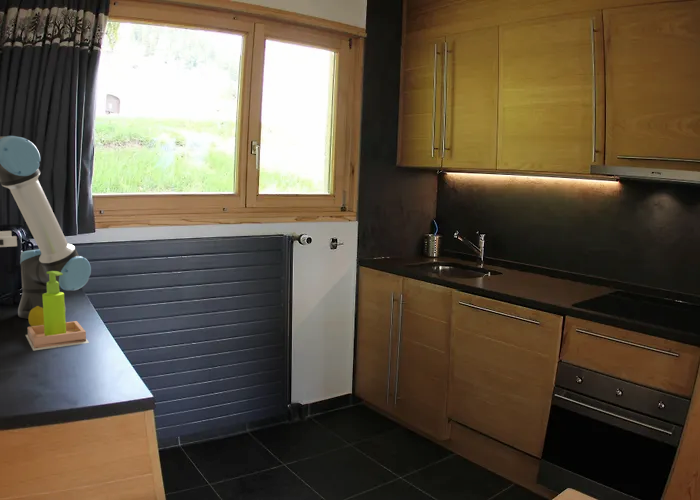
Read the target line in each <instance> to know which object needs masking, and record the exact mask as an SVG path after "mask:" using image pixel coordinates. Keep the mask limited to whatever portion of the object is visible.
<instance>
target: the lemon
mask: <svg viewBox="0 0 700 500" xmlns="http://www.w3.org/2000/svg"><path fill="white" fill-rule="evenodd" d="M28 324H29V326H30V327H31V326H39V325H44V314H43V308H42V307H39V306H36V307H35V308H33V309H32V310H31V311H30V313H29V317H28Z"/></svg>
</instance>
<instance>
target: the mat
mask: <svg viewBox="0 0 700 500" xmlns="http://www.w3.org/2000/svg"><path fill="white" fill-rule="evenodd" d="M25 337H26V339H27V341H28V344H29V345H30V347H31V349H32V351H39V350H47V349H48V350H49V349H56V348H61V347H62V348H63V347H68V346H77V345H82V344H89V343H90V341H89V340H88V339H87V338H86V341H84V342H77V343H70V344H62V345H55V346H48V347H41V348H34V347H33V345H32V343H31V341H30V339H29V337H28V334H25Z"/></svg>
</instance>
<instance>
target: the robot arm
mask: <svg viewBox="0 0 700 500" xmlns="http://www.w3.org/2000/svg"><path fill="white" fill-rule="evenodd" d="M40 162H41V154H40V152H39V150H38V148H37V146H36V145H35V144H34V143H33V142H32V141H30V140H29V139H27V138H25V137H21V136H16V135H7V136H0V185H1V186H2V187H4V188H6V189H9V190H10V193H11V194H12V196H13V199H14V201H15V202H16V205H17V206H18V209H19V211H20V213H21V214H22V217H23V219H24V222H26V225H27V227H28V230H29V231H30V233H31V235H32V237H33V239H34V241H35V243H36V245H37V247H38V249H31V250H30V249H29V250H24V251H22V252H21V254H20V261H19V264H20V273H21V274H20V275H21V288H22V294H21V298H20V302H19V305H18V307H17V316H18V317H19V318H21V319H28V317H29V313H30V311H31V310H32V309H33V308H35V307H36V306H39V307H42V308H43V296H42V295H43V294H44V293H47V282H48V281H49V274H47V272H48V271H58V272H61V273H62V274H63V275H60V276H56V275H55V276H56V281H58V282H59V292H61V291H60V290H63V291H78V290H79V289H81V288H83V287H84V286H86V284H87V283H88V282H89V280H90V276H91V273H92V266H91V264H90V262H89V260H88V259H87V258H86V257H83V256H82V255H79V253H78V250H77V248H76V246H75V245H73V243H72V244H71V243H68V240H67V239H66V236H65V235H64V233H63V230H62V228H61V226H60V224H59V222H58V219H57V217H56V215H55V213H54V212H53V208H52V207H51V204H50V202H49V200H48V199H47V198H48V197H47V196H46V194H45V191H44V190H43V187H42V186H41V183H40V181H39V177H40V175H41V170H40V169H39V167H40V165H41V164H40ZM12 234H13V233H12V230H2V231H1V230H0V248H7V247H11V248H12V247H18V240H17V239H18V237H17V236H16V235H13V236H12ZM66 312H67V306H66V305H65V314H66Z"/></svg>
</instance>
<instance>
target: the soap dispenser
mask: <svg viewBox="0 0 700 500" xmlns="http://www.w3.org/2000/svg"><path fill="white" fill-rule="evenodd" d="M47 274H49V281H48V282H47V293H44V294H43V295H42V296H43V314H44V332H45V336H48V335H56V334H63V333H66V322H67V321H66V313H65V306H66V304H65V293H64V292H62V291H60V289H59V282H58V281H56V276H60V275H63V274H62V273H61V272H58V271H48V272H47ZM55 275H56V276H55ZM59 291H60V292H59Z"/></svg>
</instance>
